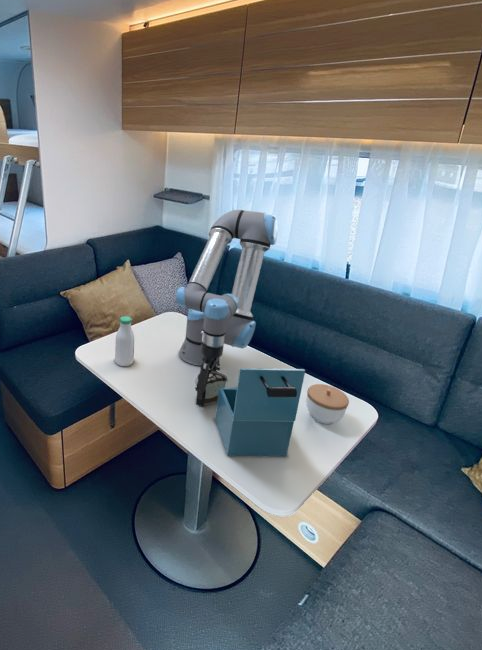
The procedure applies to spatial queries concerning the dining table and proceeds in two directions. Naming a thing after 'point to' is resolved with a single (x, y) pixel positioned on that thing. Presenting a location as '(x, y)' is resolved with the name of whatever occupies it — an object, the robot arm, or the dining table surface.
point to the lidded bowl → (326, 403)
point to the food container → (213, 386)
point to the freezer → (249, 431)
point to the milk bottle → (124, 343)
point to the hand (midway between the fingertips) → (206, 394)
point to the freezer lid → (268, 394)
